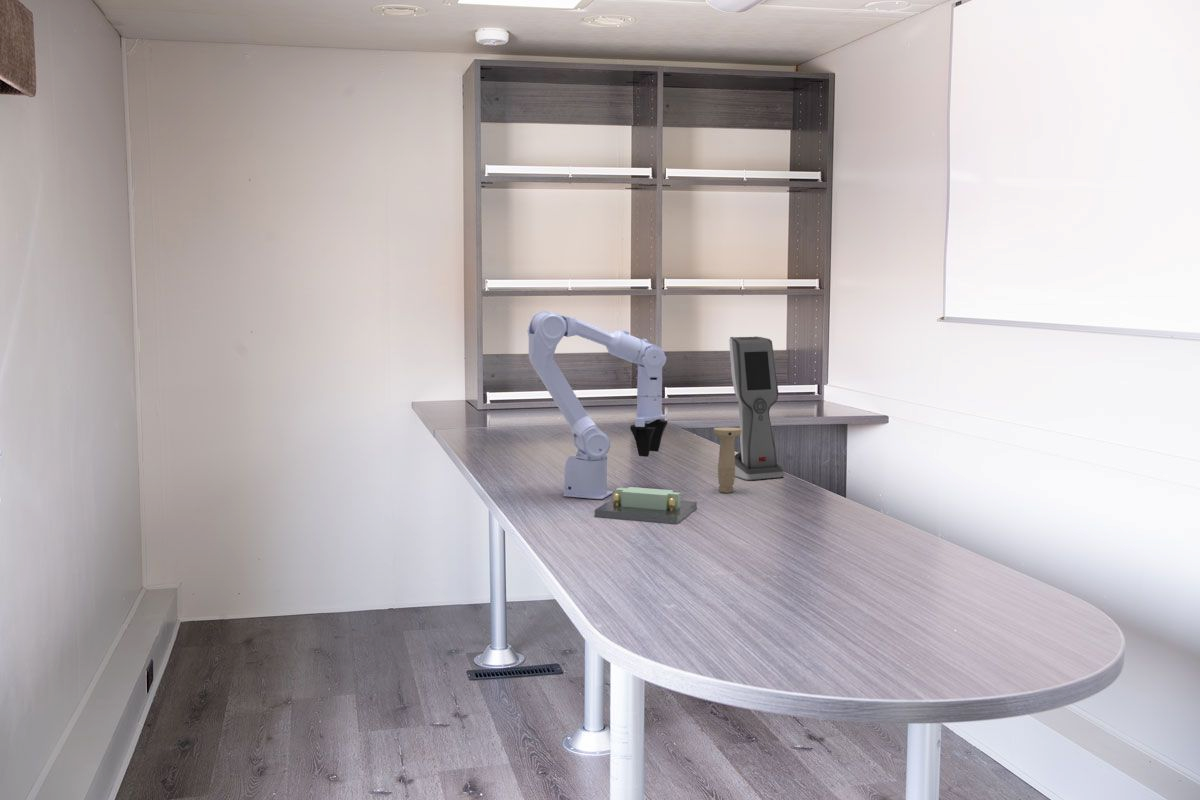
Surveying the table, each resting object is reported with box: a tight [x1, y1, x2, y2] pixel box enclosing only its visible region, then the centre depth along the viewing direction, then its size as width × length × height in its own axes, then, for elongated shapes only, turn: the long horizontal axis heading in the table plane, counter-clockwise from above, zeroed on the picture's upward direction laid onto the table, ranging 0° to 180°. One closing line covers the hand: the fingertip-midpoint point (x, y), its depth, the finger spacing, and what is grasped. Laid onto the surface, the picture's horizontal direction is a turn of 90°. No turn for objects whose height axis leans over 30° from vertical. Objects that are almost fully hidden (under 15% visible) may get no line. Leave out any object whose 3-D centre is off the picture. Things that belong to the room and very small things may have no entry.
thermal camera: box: [728, 336, 785, 481], centre depth 278 cm, size 12×13×35 cm
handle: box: [713, 426, 741, 494], centre depth 258 cm, size 5×6×15 cm
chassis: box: [594, 492, 698, 525], centre depth 236 cm, size 18×16×4 cm
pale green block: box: [614, 486, 681, 510], centre depth 235 cm, size 14×6×3 cm, turn 71°
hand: (648, 453), depth 255 cm, fingers open, 7 cm apart
